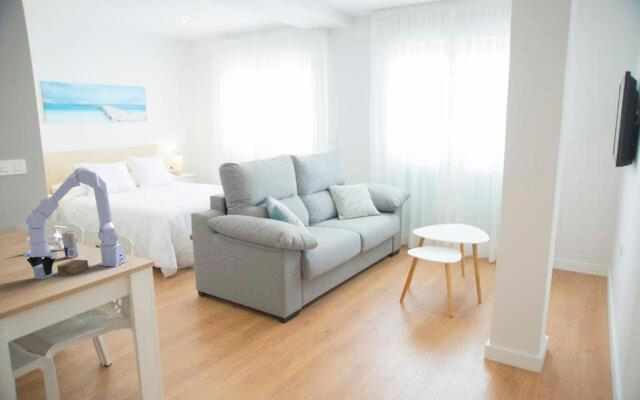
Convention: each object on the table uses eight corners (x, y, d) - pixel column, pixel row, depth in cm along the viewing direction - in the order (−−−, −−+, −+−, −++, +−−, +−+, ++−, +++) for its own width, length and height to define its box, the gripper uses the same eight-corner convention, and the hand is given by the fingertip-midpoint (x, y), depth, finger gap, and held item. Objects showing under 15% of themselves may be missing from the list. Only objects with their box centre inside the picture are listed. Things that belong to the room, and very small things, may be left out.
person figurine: (24, 236, 200) (65, 222, 213) (18, 237, 209) (57, 223, 222) (36, 261, 202) (75, 246, 215) (29, 261, 211) (68, 247, 224)
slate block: (53, 275, 178) (51, 264, 177) (43, 279, 173) (41, 267, 172) (44, 274, 179) (42, 263, 178) (35, 278, 175) (33, 267, 174)
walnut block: (88, 268, 186) (87, 260, 185) (75, 275, 178) (73, 266, 178) (72, 268, 188) (71, 259, 187) (58, 274, 180) (57, 265, 179)
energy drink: (68, 255, 205) (65, 231, 203) (80, 254, 205) (77, 230, 203) (63, 258, 200) (59, 234, 198) (75, 258, 200) (71, 233, 198)
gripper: (15, 243, 171) (20, 276, 174) (44, 245, 168) (49, 278, 170) (31, 239, 178) (36, 270, 181) (59, 240, 174) (64, 272, 177)
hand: (43, 273), depth 176 cm, fingers closed on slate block, 4 cm apart
